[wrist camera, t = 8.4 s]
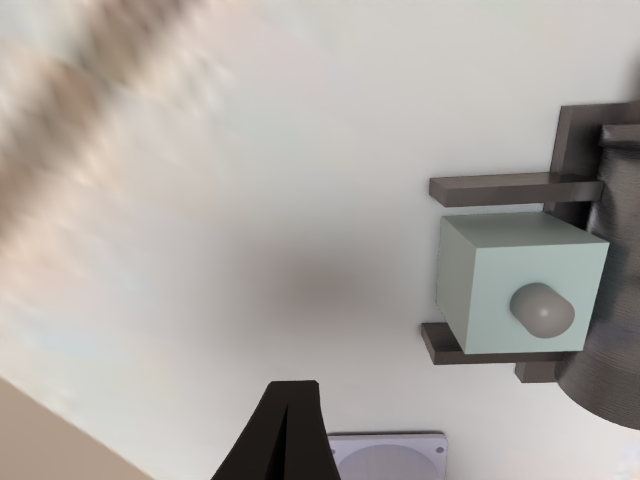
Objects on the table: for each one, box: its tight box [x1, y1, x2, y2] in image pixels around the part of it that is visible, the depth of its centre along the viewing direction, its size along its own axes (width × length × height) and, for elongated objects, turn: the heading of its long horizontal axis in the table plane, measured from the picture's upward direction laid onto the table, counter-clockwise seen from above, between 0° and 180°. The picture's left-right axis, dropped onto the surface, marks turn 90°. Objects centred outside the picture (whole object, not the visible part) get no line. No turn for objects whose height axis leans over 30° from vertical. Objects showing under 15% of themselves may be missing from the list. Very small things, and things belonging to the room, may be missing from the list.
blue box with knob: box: [436, 211, 609, 354], centre depth 16 cm, size 5×5×6 cm
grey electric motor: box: [422, 102, 640, 430], centre depth 15 cm, size 17×12×6 cm
